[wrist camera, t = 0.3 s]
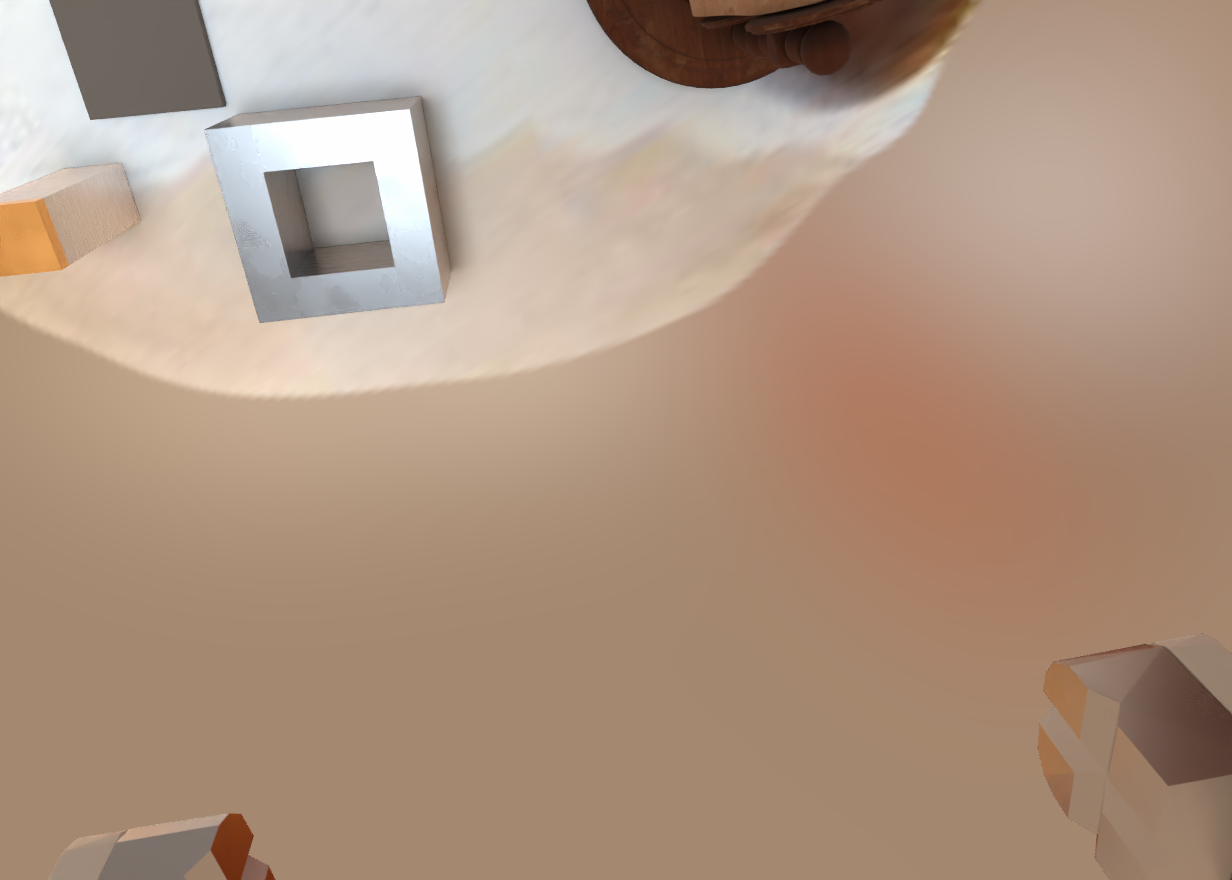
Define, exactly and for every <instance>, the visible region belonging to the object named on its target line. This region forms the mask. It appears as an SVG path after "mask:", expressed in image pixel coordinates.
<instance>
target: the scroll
mask: <svg viewBox="0 0 1232 880" xmlns="http://www.w3.org/2000/svg"><path fill="white" fill-rule="evenodd" d="M880 1H882V0H587V2H588V4H589V6H590V8H591V10H592V12H593V14H594V16H595V18H596V20H597V21H598V23H599V24H600V26H601V27H602V29H603V30H604V32H605V33H606V34H607V36H608V37H609V38H610V39H611V41H612V42H613V43H614V44H615V45H616V46H617V47H618V48H619V49H620V50H621V51H622V52H623V53H624V54H625V55H626V56H627V57H629V58H630V59H631V60H632V61H633V62H635V63H636V64H638V65H639V66H641V67H642V68H644V69H645V70H647V71H649V72H651V73H653V74H655V75H656V76H658V77H660V78H663V79H665V80H668V81H670V82H673V83H677V84H681V85H684V86H690V87H696V88H725V87H731V86H737V85H741V84H745V83H749V82H751V81H754V80H757V79H759V78H762V77H764V76H766V75H768V74H770V73H772V72H774V71H776V70H777V69H779V68H788V67H792V66H796V65H800V64H803V65H804V66H806V67H807V68H808V69H809V70H810V71H811V72H812V73H815V74H818V75H831V74H833V73H835V72H837V71H839V70H840V69H841V68H842V67H843V66H844V65H845V64H846V63H847V61H848V59H849V57H850V54H851V52H852V40H851V37H850V34H849V31H848V30H847V29H846V28H845V27H844V26H843V25H842V24H840V23H838V22H835V21H832V20H829V19H832V18H836V17H839V16H842V15H845V14H848V13H851V12H854V11H857V10H860V9H863V8H865V7H868V6H870V5H873V4H875V3H878V2H880Z"/></svg>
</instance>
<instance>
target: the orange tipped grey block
mask: <svg viewBox="0 0 1232 880" xmlns="http://www.w3.org/2000/svg"><path fill="white" fill-rule="evenodd" d="M139 221H141V219H140V216H139V213H138V210H137V207H136V204H135V201H134V198H133V195H132V192H131V189H130V186H129V183H128V180H127V177H126V174H125V171H124V168H123V165H122V163H115V164H105V165H95V166H85V167H76V168H66V169H61V170H59V171H56V172H54V173H51V174H49V175H46V176H44V177H41V178H39V179H36V180H34V181H31V182H29V183H26V184H24V185H21V186H19V187H16V188H14V189H11V190H9V191H6V192H4V193H1V194H0V277H1V276H10V275H20V274H29V273H38V272H47V271H57V270H62V269H64V268H65V267H67V266H69V265H70V264H72V263H73V262H75V261H77V260H78V259H80V258H81V257H83V256H85V255H86V254H88V253H89V252H91V251H93V250H94V249H96V248H97V247H99V246H101V245H102V244H104V243H106V242H107V241H109V240H110V239H112V238H114V237H115V236H117V235H118V234H120V233H122V232H123V231H125V230H126V229H128V228H130V227H131V226H133V225H134V224H136V223H138V222H139Z"/></svg>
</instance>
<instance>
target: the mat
mask: <svg viewBox="0 0 1232 880" xmlns="http://www.w3.org/2000/svg"><path fill="white" fill-rule="evenodd" d="M49 1H50V4H51V7H52V9H53V12H54V15H55V18H56V21H57V24H58V27H59V30H60V33H61V36H62V39H63V42H64V44H65V47H66V50H67V53H68V56H69V59H70V62H71V65H72V68H73V71H74V74H75V77H76V79H77V82H78V85H79V88H80V91H81V94H82V97H83V100H84V103H85V106H86V109H87V112H88V114H89V117H90V120H95V119H105V118H115V117H125V116H136V115H146V114H156V113H166V112H176V111H186V110H196V109H206V108H217V107H224V106H226V103H225V99H224V95H223V92H222V88H221V84H220V81H219V77H218V73H217V70H216V66H215V62H214V59H213V55H212V51H211V48H210V44H209V40H208V37H207V33H206V29H205V26H204V22H203V18H202V15H201V11H200V7H199V4H198V0H49Z"/></svg>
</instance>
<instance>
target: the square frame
mask: <svg viewBox="0 0 1232 880" xmlns="http://www.w3.org/2000/svg"><path fill="white" fill-rule="evenodd" d="M204 131H205V135H206V138H207V142H208V145H209V149H210V152H211V156H212V159H213V163H214V166H215V170H216V173H217V177H218V180H219V184H220V187H221V191H222V194H223V198H224V201H225V205H226V208H227V212H228V215H229V218H230V222H231V225H232V229H233V232H234V236H235V239H236V243H237V246H238V250H239V253H240V257H241V260H242V264H243V267H244V271H245V274H246V278H247V281H248V285H249V288H250V292H251V295H252V299H253V302H254V306H255V309H256V313H257V316H258V320H259V323H264V322H273V321H282V320H291V319H300V318H309V317H318V316H327V315H336V314H344V313H353V312H362V311H371V310H380V309H389V308H398V307H407V306H416V305H425V304H434V303H443V302H445V297H446V293H447V288H448V284H449V279H450V275H451V267H450V261H449V255H448V249H447V244H446V238H445V232H444V226H443V221H442V215H441V209H440V203H439V198H438V192H437V186H436V181H435V175H434V169H433V163H432V158H431V152H430V146H429V140H428V135H427V129H426V123H425V117H424V112H423V106H422V100H421V96H417V97H407V98H397V99H387V100H377V101H367V102H357V103H346V104H336V105H326V106H316V107H306V108H296V109H286V110H276V111H266V112H256V113H246V114H238V115H235V116H233V117H231V118H229V119H227V120H225V121H222V122H220V123H218V124H216V125H214V126H211V127H209V128H207V129H205V130H204ZM367 161H373V162H374V167H375V172H376V176H377V181H378V186H379V191H380V196H381V201H382V206H383V211H384V216H385V220H386V225H387V230H388V235H389V240H388V241H379V242H370V243H360V244H351V245H342V246H333V247H323V248H313V244H312V240H311V236H310V232H309V228H308V224H307V219H306V215H305V211H304V207H303V203H302V199H301V195H300V191H299V187H298V183H297V179H296V175H295V171H294V169H299V168H309V167H319V166H328V165H338V164H348V163H358V162H367Z"/></svg>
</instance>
